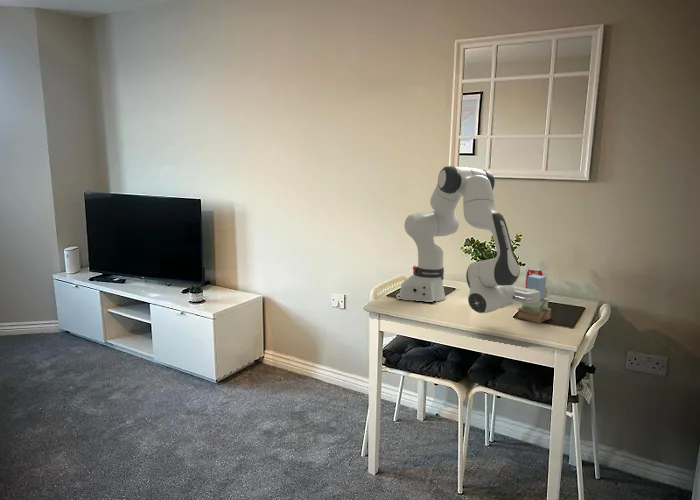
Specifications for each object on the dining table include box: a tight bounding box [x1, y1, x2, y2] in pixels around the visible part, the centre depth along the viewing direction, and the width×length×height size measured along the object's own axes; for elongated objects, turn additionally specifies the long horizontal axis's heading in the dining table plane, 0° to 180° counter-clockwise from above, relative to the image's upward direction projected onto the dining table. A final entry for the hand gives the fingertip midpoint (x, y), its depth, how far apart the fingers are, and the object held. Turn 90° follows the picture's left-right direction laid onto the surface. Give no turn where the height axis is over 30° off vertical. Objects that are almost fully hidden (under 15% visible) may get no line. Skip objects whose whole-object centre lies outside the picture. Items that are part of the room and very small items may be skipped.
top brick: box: [527, 274, 547, 301], centre depth 196 cm, size 5×5×9 cm
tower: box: [517, 297, 552, 324], centre depth 197 cm, size 9×9×8 cm
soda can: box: [525, 267, 544, 288], centre depth 232 cm, size 7×7×12 cm
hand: (522, 288), depth 188 cm, fingers open, 8 cm apart
